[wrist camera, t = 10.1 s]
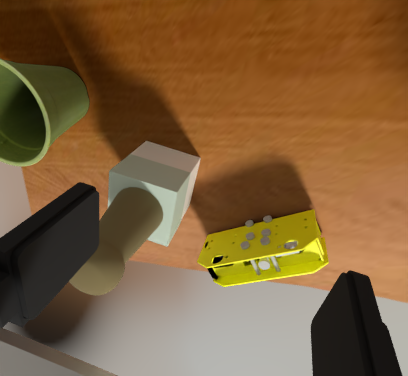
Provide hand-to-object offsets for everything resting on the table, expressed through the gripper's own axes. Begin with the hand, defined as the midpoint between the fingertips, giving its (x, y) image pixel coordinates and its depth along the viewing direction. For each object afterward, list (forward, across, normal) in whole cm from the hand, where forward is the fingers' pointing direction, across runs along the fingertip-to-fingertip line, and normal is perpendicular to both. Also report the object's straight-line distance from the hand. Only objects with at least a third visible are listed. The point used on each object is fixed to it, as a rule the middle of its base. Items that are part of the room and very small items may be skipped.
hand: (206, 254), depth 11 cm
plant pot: (+27, +26, +6) cm, 38 cm away
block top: (+22, +10, +13) cm, 28 cm away
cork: (+17, +10, +13) cm, 24 cm away
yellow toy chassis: (+28, -5, +18) cm, 34 cm away
